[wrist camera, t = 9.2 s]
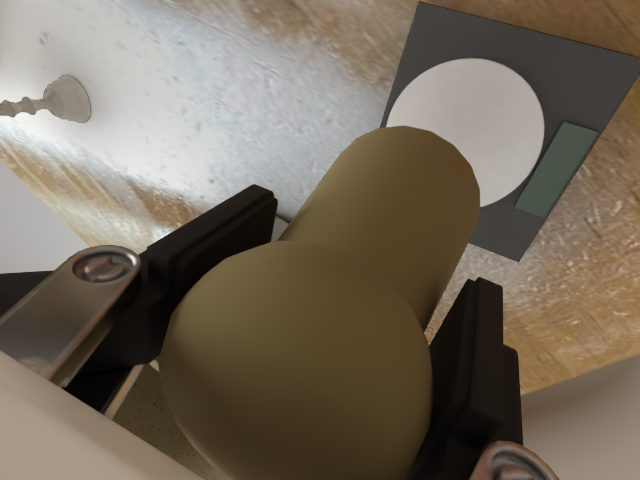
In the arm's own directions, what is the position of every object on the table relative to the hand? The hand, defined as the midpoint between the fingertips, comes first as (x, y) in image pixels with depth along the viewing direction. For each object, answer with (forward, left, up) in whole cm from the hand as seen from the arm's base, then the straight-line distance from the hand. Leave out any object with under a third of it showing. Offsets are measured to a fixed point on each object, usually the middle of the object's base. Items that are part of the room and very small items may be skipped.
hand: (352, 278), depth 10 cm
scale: (0, +2, -22) cm, 22 cm away
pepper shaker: (0, 0, -6) cm, 6 cm away
